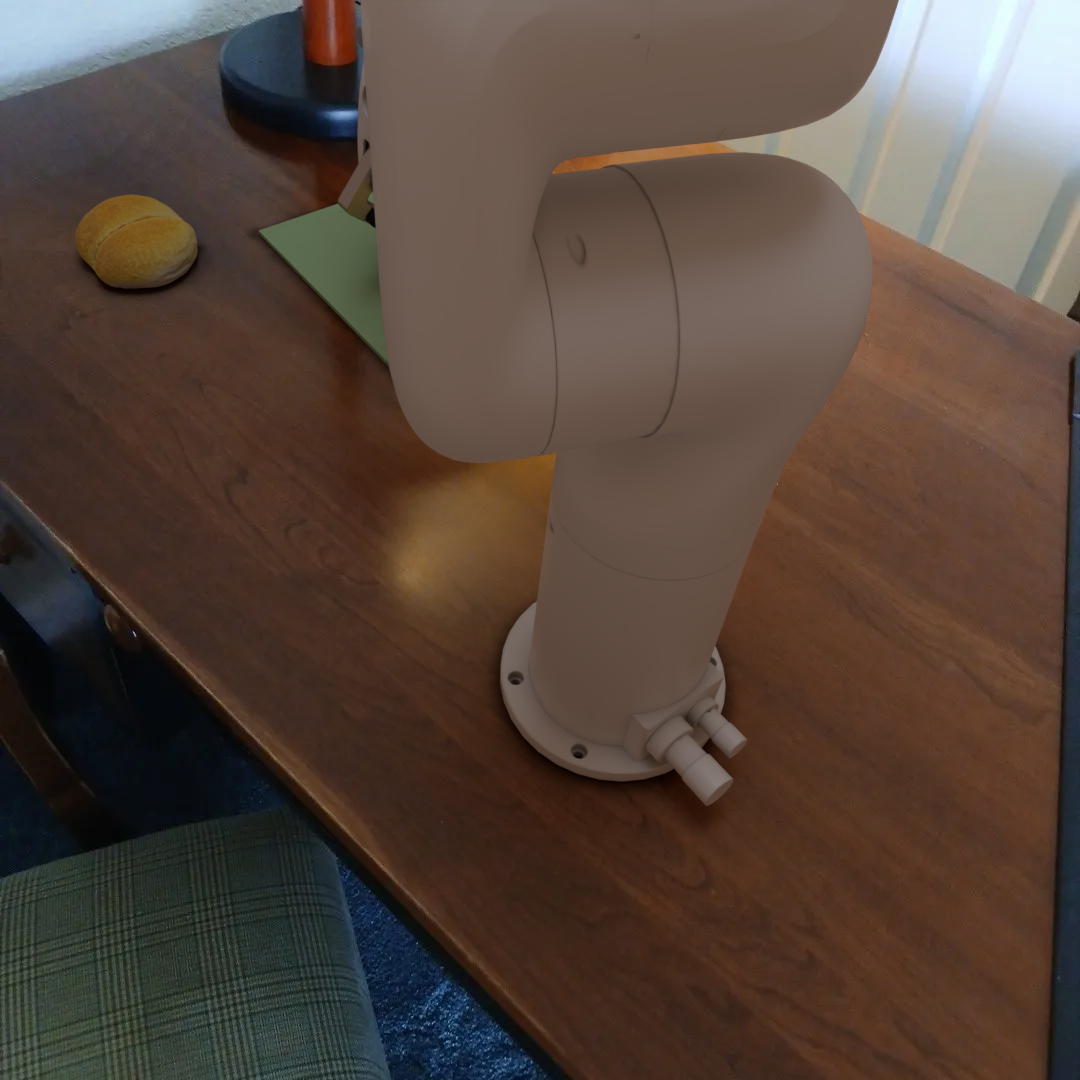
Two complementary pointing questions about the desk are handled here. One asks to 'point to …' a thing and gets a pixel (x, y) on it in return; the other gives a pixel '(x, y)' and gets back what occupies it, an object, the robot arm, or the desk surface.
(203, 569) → the desk surface
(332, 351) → the desk surface
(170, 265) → the bread roll
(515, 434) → the robot arm
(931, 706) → the desk surface
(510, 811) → the desk surface
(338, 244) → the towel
